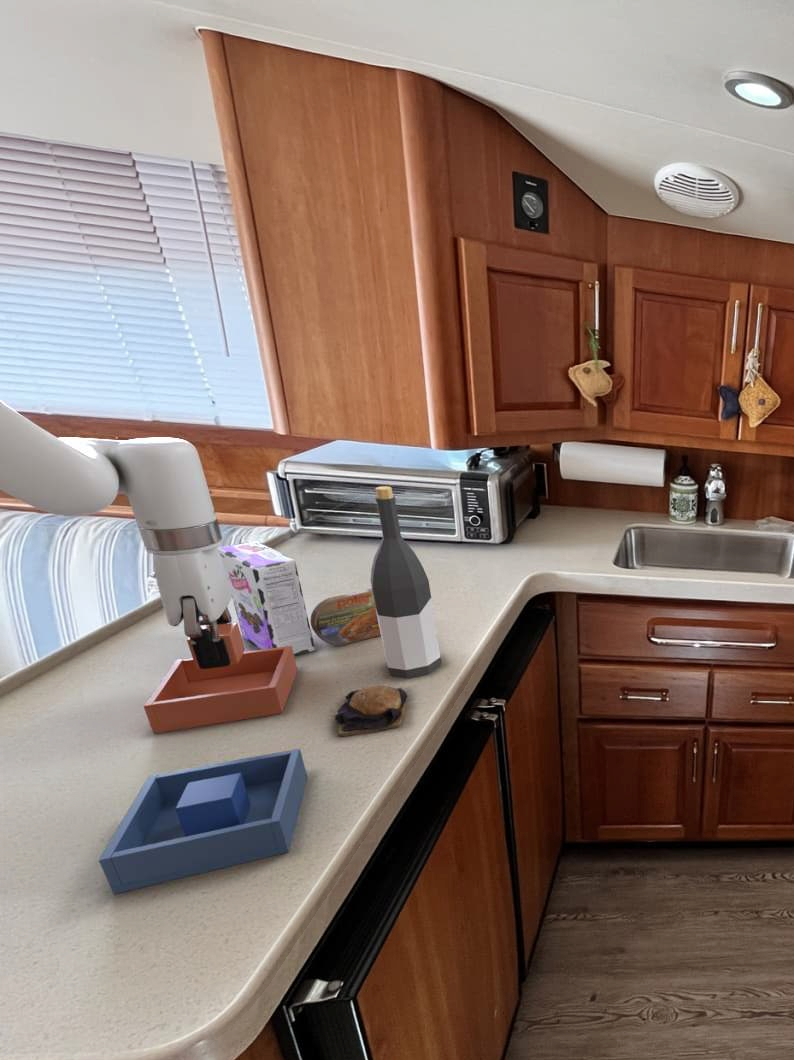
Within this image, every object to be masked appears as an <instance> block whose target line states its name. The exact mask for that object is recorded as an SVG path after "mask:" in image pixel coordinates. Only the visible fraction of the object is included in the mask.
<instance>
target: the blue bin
mask: <svg viewBox="0 0 794 1060" xmlns="http://www.w3.org/2000/svg"><path fill="white" fill-rule="evenodd" d="M303 758H304V757H303V755H302V751H301V748H295V749H294V748H293V749H289V750H283V751H278V752H274V753H273V752H272V753H268V754H267V753H266V754H261V755H256V756H251V757H245V758H239V759H234V760H229V761H223V762H217V763H213V764H206V765H202V766H195V767H191V768H190V767H189V768H184V769H179V770H174V771H168V772H162V773H158V774H152V775H148V777H147V778H146V779H145V781H144V783H143V785H142V786H141V788H140V790H139V791H138V793H137V795H136V796H135V798H134V800H133V801H132V804H131V805H130V807H129V808H128V810H127V811H126V814H125V815H124V817H123V819H122V820H121V822H120V824H119V825H118V827H117V829H116V831H115V832H114V834H113V836H112V838H111V839H110V841H109V842H108V844H107V845H106V847H105V850H103V853H102V854H101V856H100V858H99V859H98V862H99V866H100V867H101V869H102V871H103V874H104V876H105V879H106V880H107V883H108V884H109V887H110V889H111V892H112V894H113V895H116V894H121V893H126V892H128V891H133V890H137V889H141V888H145V887H150V886H154V885H158V884H161V883H166V882H170V881H175V880H179V879H183V878H186V877H190V876H195V875H199V874H203V873H208V872H211V871H216V870H220V869H224V868H228V867H232V866H236V865H241V864H244V863H249V862H254V861H257V860H262V859H265V858H269V857H273V856H277V855H282V854H287V853H289V852H290V848H291V844H292V841H293V836H294V832H295V829H296V824H297V820H298V816H299V812H300V808H301V804H302V801H303V796H304V792H305V789H306V784H307V781H308V773H307V769H306V766H305V761H304V759H303ZM237 773H241V775H242V778H243V781H244V784H245V788H246V791H247V794H248V797H249V800H250V803H251V805H250V808H249V811H248V814H247V816H246V819H245V822H244V824H242V825H237V826H233V827H228V828H224V829H219V830H215V831H210V832H205V833H201V834H196V835H192V836H187V837H186V836H185V834H184V831H183V828H182V826H181V823H180V820H179V818H178V815H177V812H176V809H175V808H176V806H177V804H178V802H179V800H180V798H181V796H182V794H183V792H184V790H185V788H186V786H187V784H188V783H190V782H195V781H201V780H206V779H211V778H216V777H222V776H227V775H232V774H237Z"/></svg>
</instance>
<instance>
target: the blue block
mask: <svg viewBox="0 0 794 1060" xmlns="http://www.w3.org/2000/svg"><path fill="white" fill-rule="evenodd" d="M250 805H251V803H250V800H249V797H248V794H247V791H246V788H245V784H244V781H243V778H242V775H241V773H237V774H232V775H227V776H222V777H216V778H211V779H206V780H201V781H195V782H190V783H188V784H187V786H186V788H185V790H184V792H183V794H182V796H181V798H180V800H179V802H178V804H177V806H176V808H175V809H176V812H177V815H178V818H179V820H180V823H181V826H182V828H183V831H184V834H185V836H186V837H187V836H192V835H196V834H201V833H205V832H210V831H215V830H219V829H224V828H228V827H233V826H237V825H242V824H244V822H245V819H246V816H247V814H248V811H249V808H250Z"/></svg>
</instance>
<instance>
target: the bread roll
mask: <svg viewBox="0 0 794 1060" xmlns="http://www.w3.org/2000/svg"><path fill="white" fill-rule="evenodd" d="M344 698H345V699H344V703H343V704H342V705H341V706H340V708H339V709H338V710H337V713H336V714H335V715H334V717H335V721H336V722H337V723H338V727H337V728H338V733H337V734H338V737H349V736H354V735H365V734H367V733H370V732H375V733H376V732H377V733H378V732H381V731H384V730H385V731H386V730H388V729H395V728H399V727H401V726H402V724H403V722H404V718H405V717H404V716H405V715H406V713H405V712H406V708H407V700H408V694H407V693H406V689H405V688H403V687H396V688H395V687H394V686H391V685H386V684H374V685H366V686H364V687H362V688H360V689H356V690H352V691H350V692H349V693H348V694H346V696H344Z"/></svg>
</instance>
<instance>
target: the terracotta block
mask: <svg viewBox="0 0 794 1060" xmlns="http://www.w3.org/2000/svg"><path fill="white" fill-rule="evenodd" d="M201 627H202V629H208V630H209V631H210V628H209V625H201ZM217 627H218V632H219V636H220V639H224V642H225V645H226V649H227V652H228V655H229V658H230V662H231V663H230V665H231V664H238V663H239V661H240V659H241V657H242V655H243V653H244V652H246V648H245V645H244V644H245V643H244V641H243V638H242V637H243V636H242V633H241V629H240V628H239V627H240V626H239V622H231V623H227V624H218V625H217ZM186 643H187V645H188V648H189V651H190V654H191V658H193V660H194V663H195V666H196V669H200V667H199V664H198V661H197V658H196V655H195V652H194V649H193V646H192V644H191V642H190V637H188V638H187V639H186Z"/></svg>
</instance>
